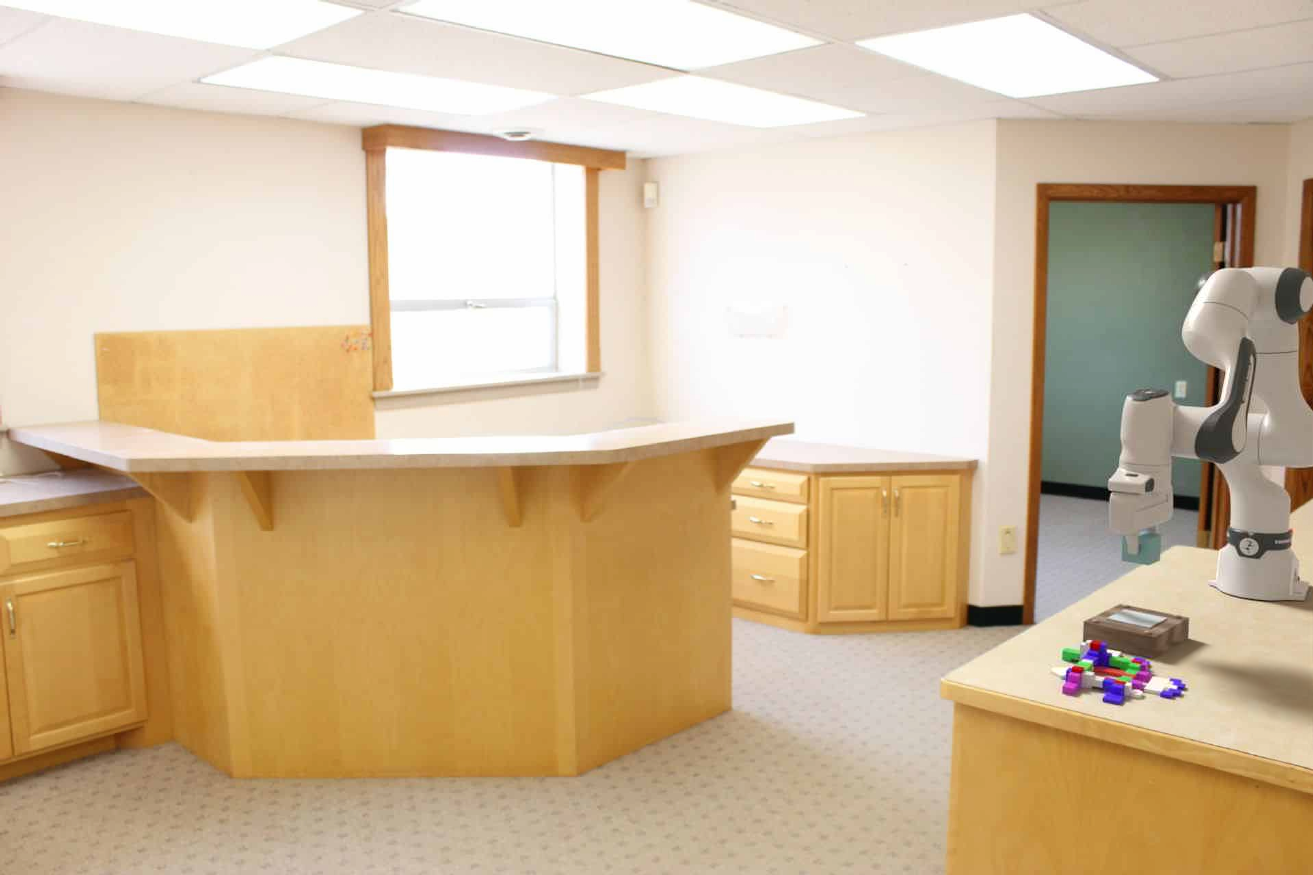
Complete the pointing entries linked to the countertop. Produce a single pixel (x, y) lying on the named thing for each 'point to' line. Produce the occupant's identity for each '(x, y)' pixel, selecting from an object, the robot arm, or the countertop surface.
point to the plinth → (1137, 630)
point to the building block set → (1112, 674)
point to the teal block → (1144, 549)
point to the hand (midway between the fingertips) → (1140, 550)
